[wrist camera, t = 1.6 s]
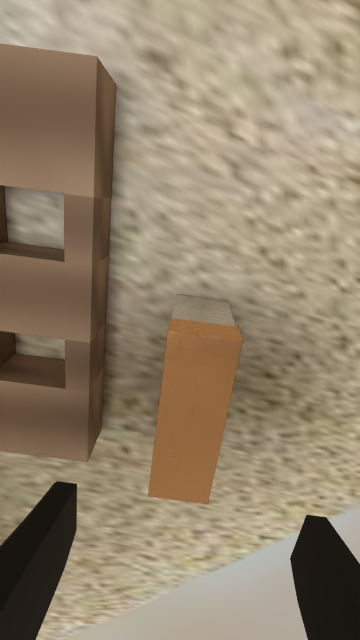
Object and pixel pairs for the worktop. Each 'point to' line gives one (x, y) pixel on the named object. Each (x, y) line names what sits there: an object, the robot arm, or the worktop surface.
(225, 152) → the worktop surface
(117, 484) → the worktop surface
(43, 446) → the brown wooden peg board
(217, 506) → the worktop surface
